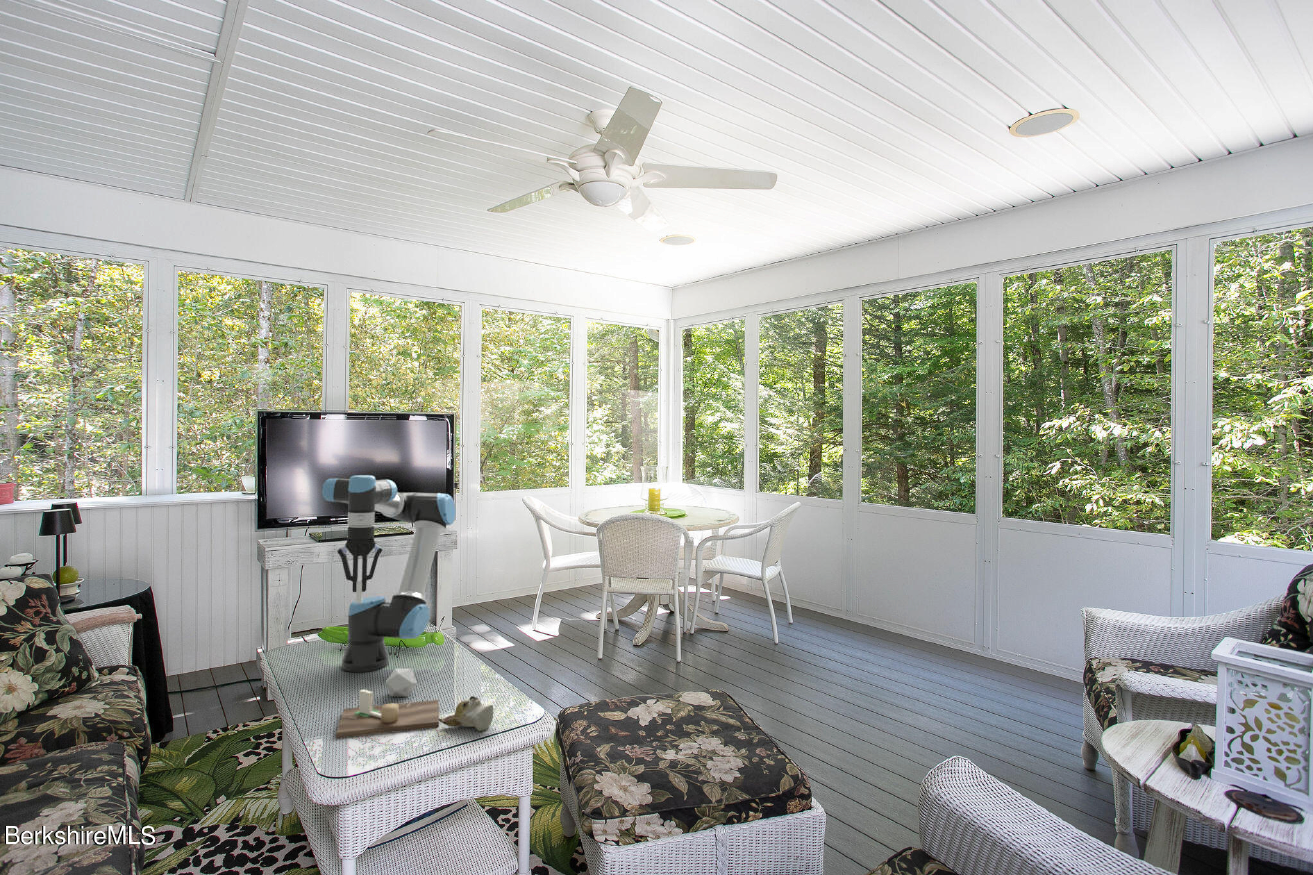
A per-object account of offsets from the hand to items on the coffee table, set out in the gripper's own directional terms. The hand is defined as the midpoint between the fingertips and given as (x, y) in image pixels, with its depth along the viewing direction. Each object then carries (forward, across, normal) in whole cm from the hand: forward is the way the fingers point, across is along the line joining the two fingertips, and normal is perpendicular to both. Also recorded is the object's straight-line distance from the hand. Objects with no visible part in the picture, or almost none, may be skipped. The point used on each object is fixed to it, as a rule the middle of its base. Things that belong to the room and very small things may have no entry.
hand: (359, 602), depth 203 cm
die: (+30, +13, -1) cm, 32 cm away
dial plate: (+29, +11, -20) cm, 37 cm away
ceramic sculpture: (+30, +32, -30) cm, 53 cm away
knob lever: (+27, +7, -21) cm, 35 cm away
